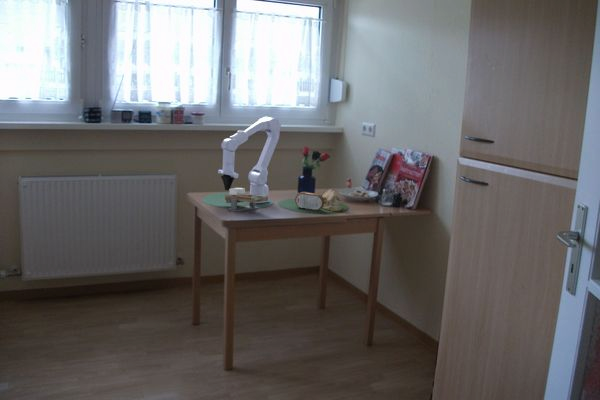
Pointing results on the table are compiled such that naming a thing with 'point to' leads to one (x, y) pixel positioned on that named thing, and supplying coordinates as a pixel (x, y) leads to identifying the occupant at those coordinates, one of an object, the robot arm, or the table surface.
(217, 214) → the table surface
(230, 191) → the block
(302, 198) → the tin
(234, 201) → the stand
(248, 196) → the tan wooden tray
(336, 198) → the ceramic model
